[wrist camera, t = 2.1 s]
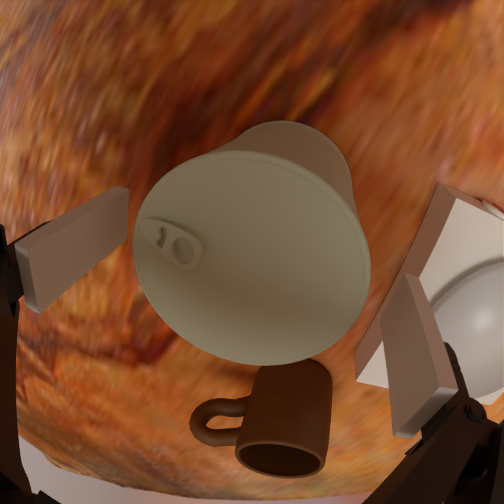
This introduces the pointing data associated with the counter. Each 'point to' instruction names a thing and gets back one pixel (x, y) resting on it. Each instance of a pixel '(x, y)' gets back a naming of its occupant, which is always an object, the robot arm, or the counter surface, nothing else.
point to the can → (256, 247)
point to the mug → (275, 421)
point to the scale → (454, 291)
